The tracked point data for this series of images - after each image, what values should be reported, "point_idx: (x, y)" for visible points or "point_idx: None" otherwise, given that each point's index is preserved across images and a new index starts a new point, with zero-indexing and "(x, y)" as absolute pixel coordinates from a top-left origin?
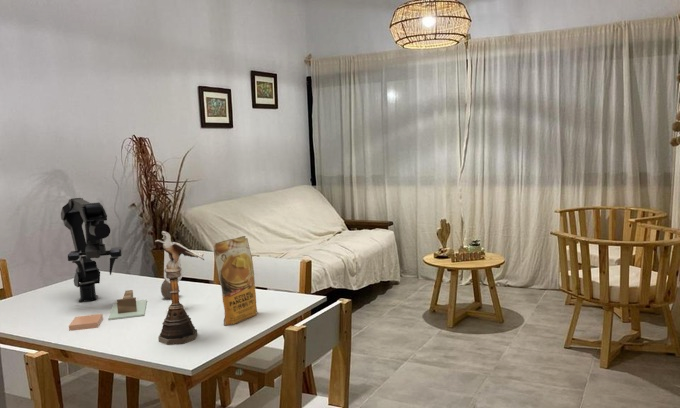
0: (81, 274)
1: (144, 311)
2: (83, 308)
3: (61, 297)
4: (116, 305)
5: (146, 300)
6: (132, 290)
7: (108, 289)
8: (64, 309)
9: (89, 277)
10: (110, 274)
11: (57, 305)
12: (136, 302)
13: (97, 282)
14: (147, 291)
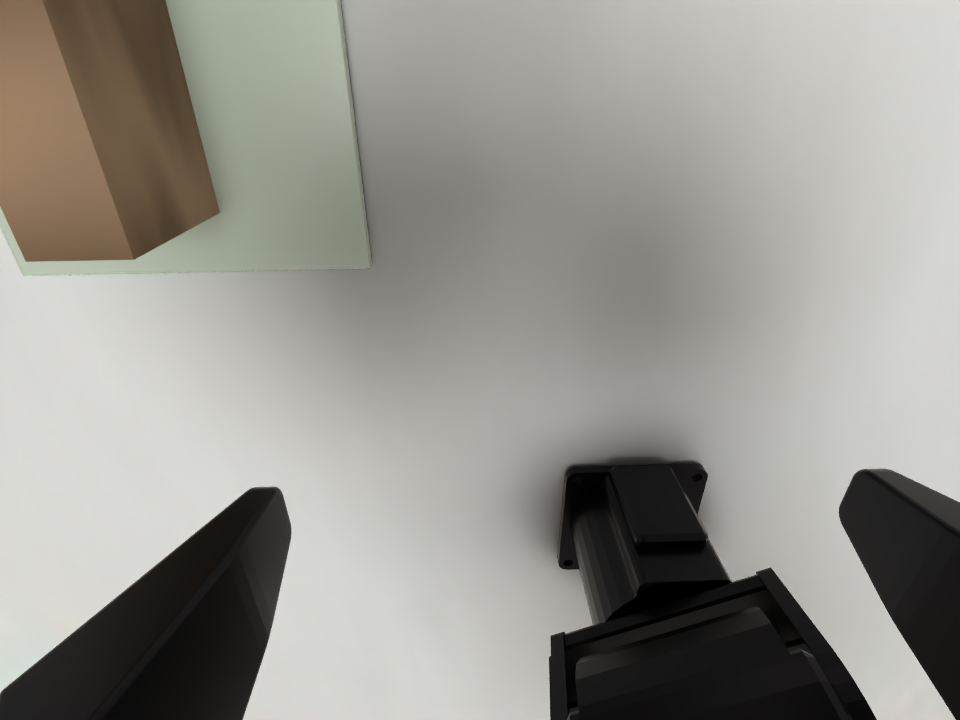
0: (827, 711)
1: None
2: (671, 253)
3: None
4: (317, 158)
5: (8, 242)
6: (10, 227)
7: (499, 675)
8: (841, 292)
9: (683, 667)
10: (259, 490)
11: (867, 439)
12: None
13: (571, 640)
14: None
